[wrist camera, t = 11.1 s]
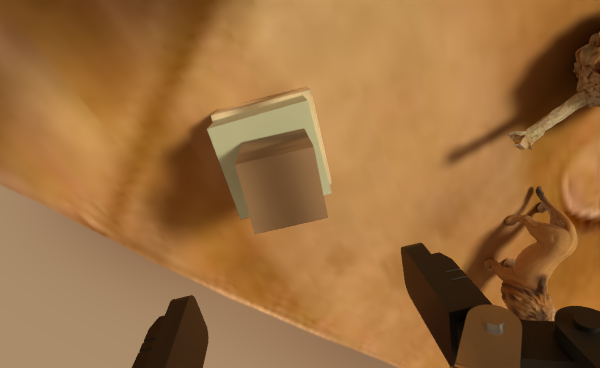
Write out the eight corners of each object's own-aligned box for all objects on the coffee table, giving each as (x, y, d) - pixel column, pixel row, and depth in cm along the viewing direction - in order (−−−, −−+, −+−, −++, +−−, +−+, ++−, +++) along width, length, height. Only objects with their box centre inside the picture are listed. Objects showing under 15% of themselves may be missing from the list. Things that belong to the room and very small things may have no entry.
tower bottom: (306, 86, 33) (310, 89, 30) (325, 170, 37) (331, 183, 33) (216, 109, 34) (210, 115, 30) (243, 191, 37) (241, 207, 33)
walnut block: (304, 128, 27) (313, 146, 21) (316, 186, 29) (327, 217, 23) (241, 142, 27) (234, 164, 21) (257, 199, 29) (255, 234, 23)
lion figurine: (508, 292, 44) (565, 347, 36) (470, 289, 44) (519, 344, 35) (554, 186, 39) (632, 221, 31) (512, 181, 39) (581, 215, 30)
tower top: (302, 94, 30) (307, 100, 26) (324, 178, 33) (331, 193, 29) (214, 120, 30) (206, 129, 26) (243, 201, 33) (240, 219, 29)
